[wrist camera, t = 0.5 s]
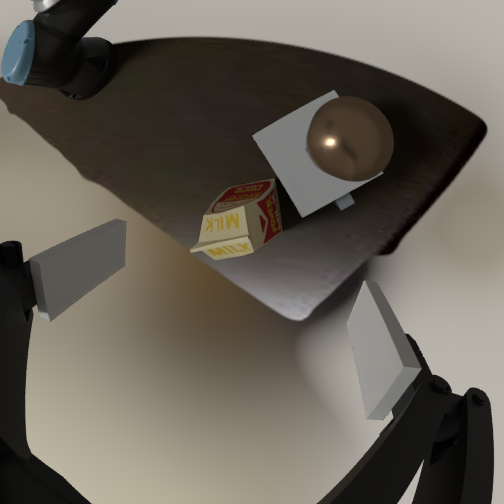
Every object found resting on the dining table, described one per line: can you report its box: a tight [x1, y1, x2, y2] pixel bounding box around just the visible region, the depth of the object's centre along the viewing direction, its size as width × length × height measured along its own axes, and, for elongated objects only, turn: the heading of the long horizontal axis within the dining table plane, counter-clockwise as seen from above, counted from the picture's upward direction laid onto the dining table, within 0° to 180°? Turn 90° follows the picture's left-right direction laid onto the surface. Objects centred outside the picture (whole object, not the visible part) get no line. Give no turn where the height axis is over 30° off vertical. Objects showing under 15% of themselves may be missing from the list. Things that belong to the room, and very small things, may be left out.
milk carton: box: [190, 178, 283, 260], centre depth 37 cm, size 9×9×20 cm
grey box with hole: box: [252, 90, 383, 218], centre depth 36 cm, size 13×11×14 cm
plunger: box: [306, 96, 394, 182], centre depth 22 cm, size 8×8×24 cm
